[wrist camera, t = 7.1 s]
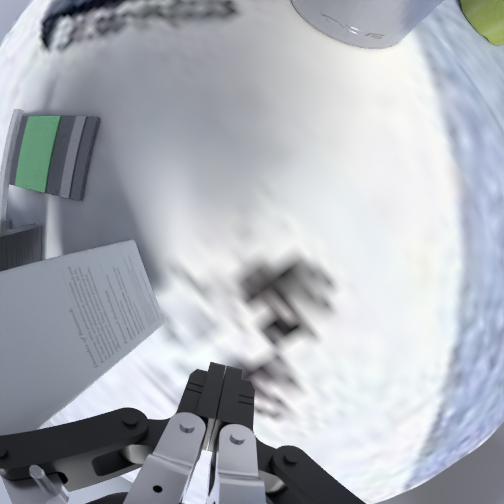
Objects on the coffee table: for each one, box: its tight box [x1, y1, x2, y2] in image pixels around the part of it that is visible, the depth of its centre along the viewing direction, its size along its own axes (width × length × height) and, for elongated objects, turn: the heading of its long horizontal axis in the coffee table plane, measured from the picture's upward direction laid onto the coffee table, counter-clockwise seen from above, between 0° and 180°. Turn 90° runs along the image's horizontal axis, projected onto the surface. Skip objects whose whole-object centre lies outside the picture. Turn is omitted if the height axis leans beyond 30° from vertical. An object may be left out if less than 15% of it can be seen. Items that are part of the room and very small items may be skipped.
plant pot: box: [460, 0, 504, 46], centre depth 7 cm, size 9×9×9 cm
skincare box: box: [0, 239, 164, 436], centre depth 10 cm, size 8×6×15 cm
